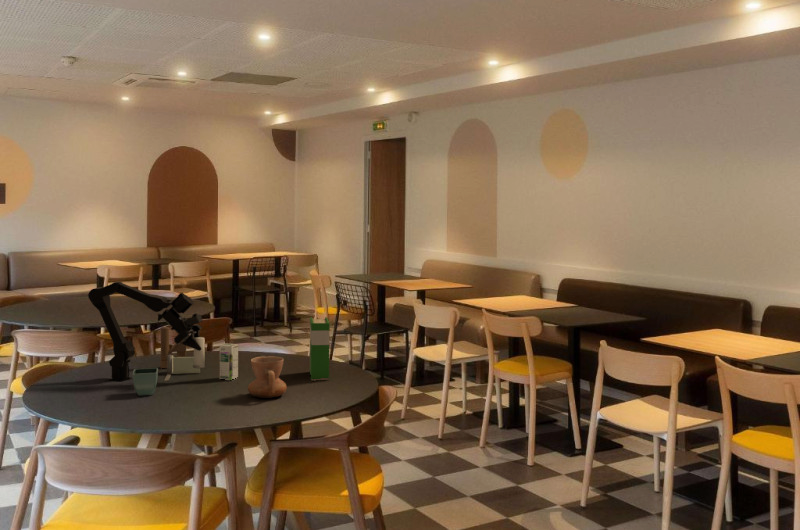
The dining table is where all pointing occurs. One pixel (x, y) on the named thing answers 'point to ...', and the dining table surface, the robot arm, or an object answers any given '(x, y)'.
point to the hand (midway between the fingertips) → (202, 348)
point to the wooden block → (165, 347)
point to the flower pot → (145, 380)
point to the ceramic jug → (267, 377)
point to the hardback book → (319, 348)
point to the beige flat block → (184, 365)
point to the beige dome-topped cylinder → (199, 354)
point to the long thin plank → (169, 367)
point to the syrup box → (228, 361)
